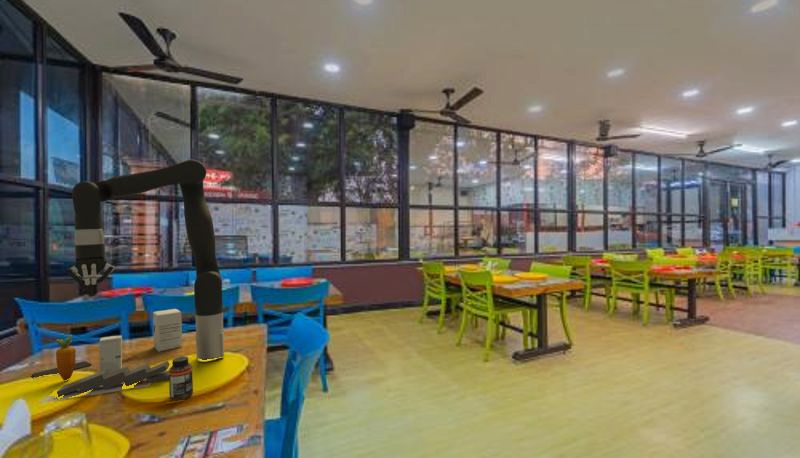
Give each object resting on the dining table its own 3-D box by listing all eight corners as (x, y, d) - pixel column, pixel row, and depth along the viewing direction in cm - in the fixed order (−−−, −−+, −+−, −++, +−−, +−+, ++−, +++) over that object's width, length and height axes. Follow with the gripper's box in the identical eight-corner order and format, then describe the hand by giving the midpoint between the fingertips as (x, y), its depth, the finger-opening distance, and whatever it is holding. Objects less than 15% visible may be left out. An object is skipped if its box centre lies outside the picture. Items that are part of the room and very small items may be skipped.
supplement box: (153, 347, 158) (152, 311, 158) (177, 342, 164) (176, 308, 164) (157, 352, 151) (156, 315, 151) (182, 346, 157) (181, 311, 157)
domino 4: (149, 377, 124) (189, 373, 128) (146, 383, 119) (187, 378, 123) (150, 372, 124) (189, 368, 128) (146, 378, 119) (187, 373, 123)
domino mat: (156, 375, 126) (156, 374, 126) (149, 387, 117) (149, 385, 117) (54, 390, 116) (54, 389, 116) (37, 404, 107) (37, 403, 107)
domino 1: (87, 387, 117) (129, 370, 121) (81, 393, 113) (125, 376, 117) (85, 382, 117) (127, 366, 121) (79, 388, 112) (123, 371, 117)
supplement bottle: (176, 392, 113) (175, 355, 113) (196, 391, 113) (195, 354, 113) (165, 402, 107) (164, 362, 107) (187, 400, 107) (186, 361, 107)
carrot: (53, 386, 119) (52, 339, 119) (59, 380, 124) (58, 335, 124) (73, 383, 122) (72, 337, 122) (78, 377, 126) (77, 333, 126)
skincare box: (99, 376, 127) (98, 340, 127) (100, 372, 131) (99, 337, 131) (121, 372, 130) (120, 337, 130) (122, 368, 134) (121, 334, 134)
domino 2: (110, 383, 119) (150, 367, 124) (104, 390, 115) (146, 373, 119) (108, 379, 119) (148, 363, 123) (102, 385, 115) (144, 368, 119)
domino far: (66, 390, 115) (109, 373, 119) (58, 396, 111) (103, 379, 115) (64, 385, 115) (107, 368, 119) (56, 392, 110) (101, 374, 115)
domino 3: (130, 380, 121) (169, 364, 126) (126, 386, 117) (166, 370, 121) (128, 376, 121) (167, 360, 125) (124, 382, 117) (164, 365, 121)
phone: (92, 364, 138) (37, 378, 125) (92, 366, 138) (37, 380, 125) (85, 360, 142) (30, 373, 129) (85, 363, 142) (30, 376, 129)
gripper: (59, 244, 116) (62, 300, 117) (110, 242, 122) (113, 295, 122) (69, 244, 123) (72, 296, 124) (117, 241, 128) (120, 292, 129)
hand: (92, 295), depth 123 cm, fingers closed
